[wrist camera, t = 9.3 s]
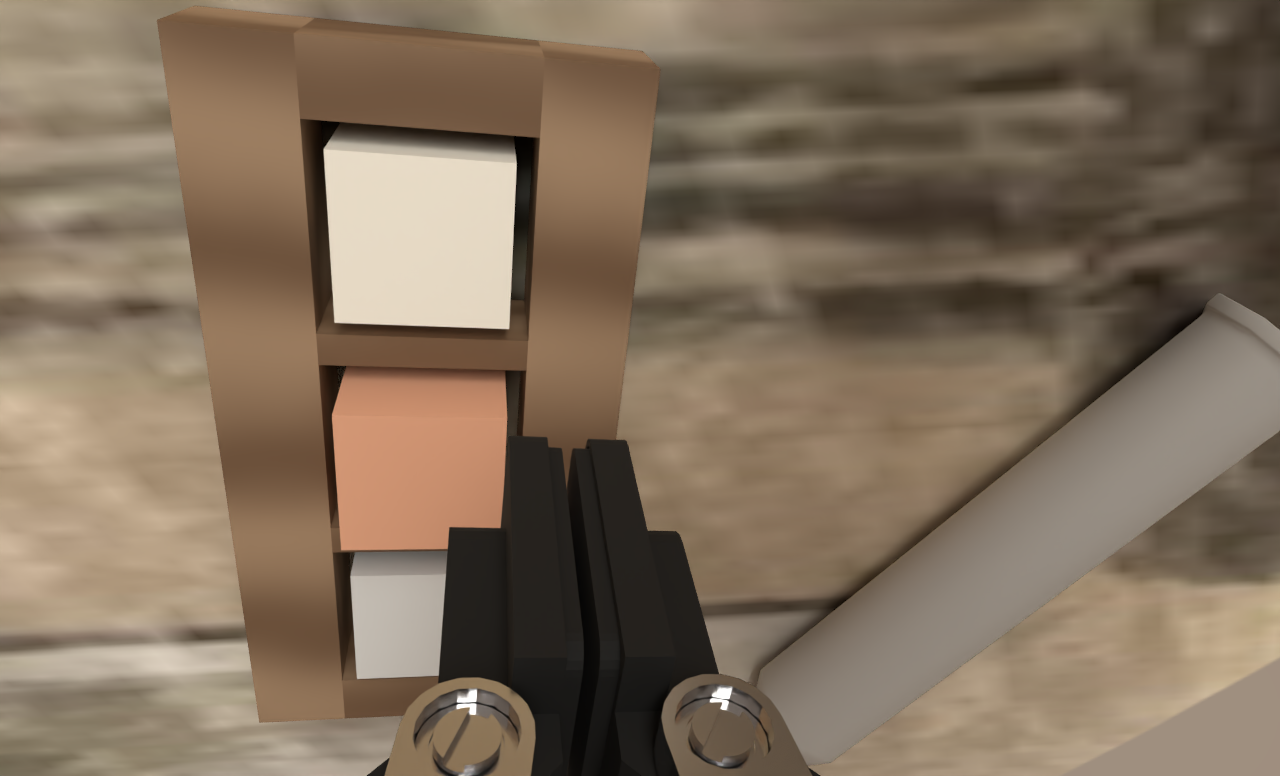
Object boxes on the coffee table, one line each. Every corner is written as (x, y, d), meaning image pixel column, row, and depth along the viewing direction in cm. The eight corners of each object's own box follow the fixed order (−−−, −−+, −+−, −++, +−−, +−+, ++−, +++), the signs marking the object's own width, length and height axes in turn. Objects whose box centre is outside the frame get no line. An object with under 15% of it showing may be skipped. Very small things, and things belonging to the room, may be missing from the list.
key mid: (346, 364, 26) (331, 415, 24) (504, 368, 27) (507, 418, 25) (353, 491, 28) (341, 550, 26) (499, 491, 29) (501, 548, 27)
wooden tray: (194, 5, 22) (157, 20, 20) (642, 51, 25) (660, 69, 22) (276, 659, 34) (259, 722, 31) (576, 649, 36) (583, 706, 34)
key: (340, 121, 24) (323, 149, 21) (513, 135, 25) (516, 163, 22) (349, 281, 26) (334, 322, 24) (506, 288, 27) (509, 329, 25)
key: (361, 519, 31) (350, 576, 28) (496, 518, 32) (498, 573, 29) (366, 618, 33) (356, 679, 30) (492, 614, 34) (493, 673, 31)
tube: (832, 792, 38) (1344, 420, 31) (769, 789, 34) (1335, 366, 27) (775, 687, 42) (1223, 332, 35) (713, 673, 38) (1201, 273, 31)
